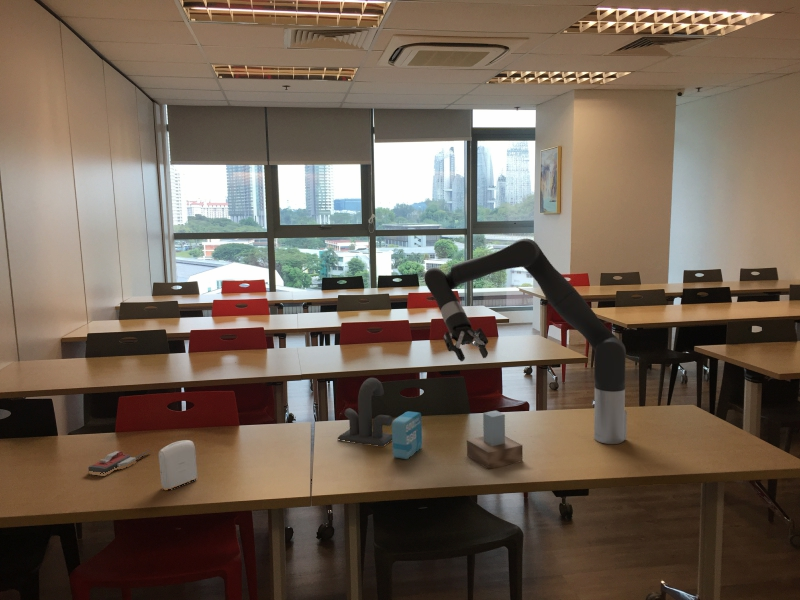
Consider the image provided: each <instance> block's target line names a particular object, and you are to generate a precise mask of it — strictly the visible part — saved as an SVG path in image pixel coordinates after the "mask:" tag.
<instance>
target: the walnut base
mask: <svg viewBox="0 0 800 600" xmlns="http://www.w3.org/2000/svg"><path fill="white" fill-rule="evenodd" d="M466 455H467V457H469V458H471V460H474V461H475V462H477V463H478V464H480V465H482V466H483V467H484V468H486V469H488V470H491V469H494V468H500V467H504V466H508V465H511V464H516V463H521V462H523V458H524V457H523V455H524V454H523V444H521V443H519V442H518V441H516V440H513V439H512V438H510V437H507V436H506V435H505V444H500V445H496V446H491V445H489V444H487V443H485V442H484V436H480V437H474V438H469V439H466Z"/></svg>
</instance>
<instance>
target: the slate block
mask: <svg viewBox="0 0 800 600" xmlns="http://www.w3.org/2000/svg"><path fill="white" fill-rule="evenodd" d="M482 415H483V416H482V417H483V421H482V423H483V425H482V426H483V427H482V428H483V437H484V442H485V443H487V444H489V445H491V446H496V445H500V444H505V436H506V421H505V420H506V418H505V417H506V415H505V414H504V413H502V412H500V411H498V410H492V411H487V412H483V413H482Z"/></svg>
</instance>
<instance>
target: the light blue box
mask: <svg viewBox="0 0 800 600" xmlns="http://www.w3.org/2000/svg"><path fill="white" fill-rule="evenodd" d="M422 433H423V431H422V414H421V412H417V411H405V412H404V413H403V414H401V415H399V416H397V417H396V418H394V419H393V420H392V423H391V434H392V441H391V442H392V456H393V458H397V459H403V460H408V459H409V457H410V456H411V457H412V456H413V455H415V454H416V453H417V452H418V451H419V449H420V448H421V449H422V447H423V436H422V435H423V434H422ZM421 449H420V450H421ZM416 451H417V452H416ZM415 452H416V453H415ZM414 453H415V454H414ZM411 457H410V458H411Z"/></svg>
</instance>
